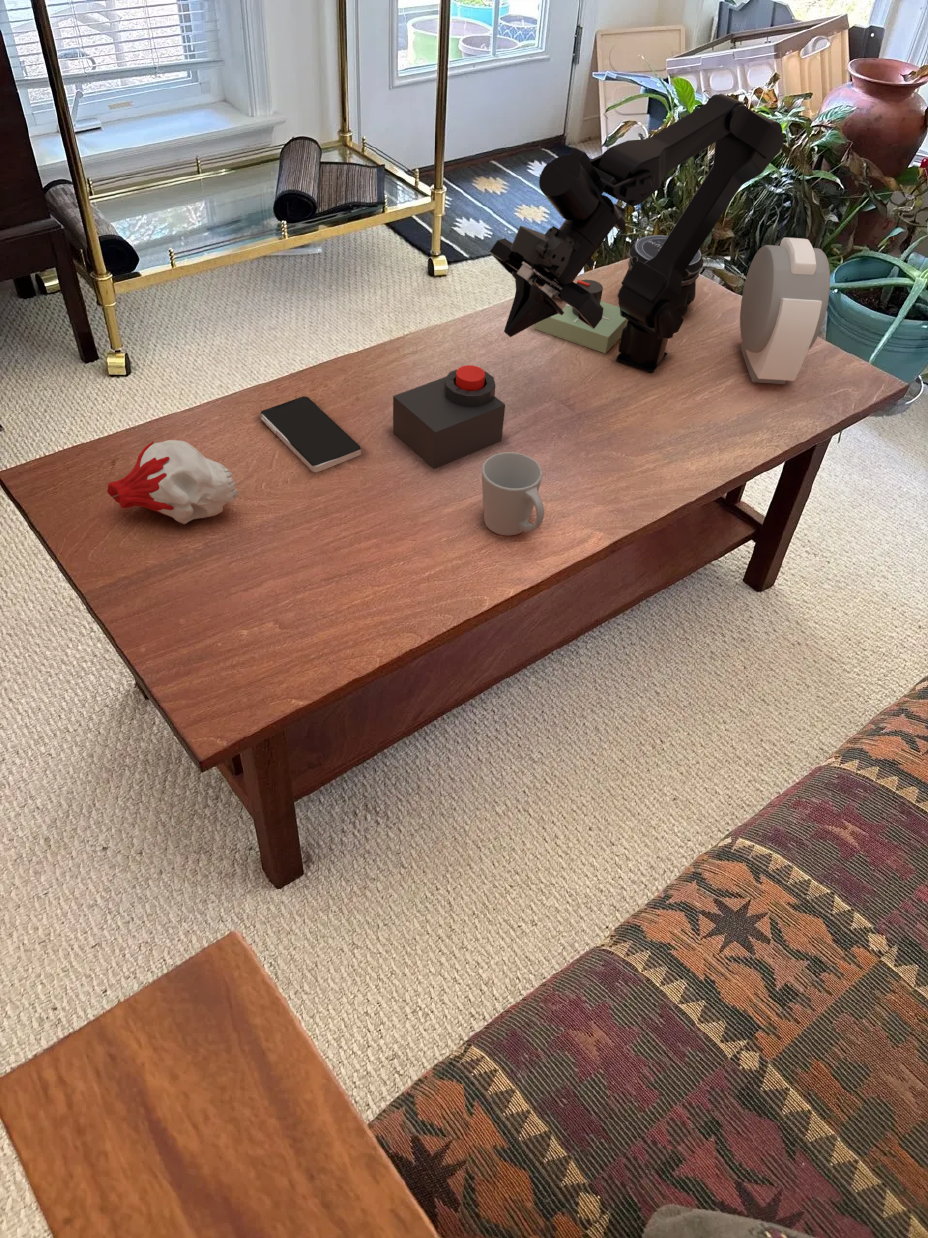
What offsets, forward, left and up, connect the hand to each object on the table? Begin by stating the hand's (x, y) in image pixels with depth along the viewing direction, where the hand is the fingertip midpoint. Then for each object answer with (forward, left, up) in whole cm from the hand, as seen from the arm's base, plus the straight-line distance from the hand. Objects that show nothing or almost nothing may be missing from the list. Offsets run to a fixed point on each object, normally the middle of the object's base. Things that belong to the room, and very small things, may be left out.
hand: (507, 334), depth 130 cm
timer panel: (+1, -30, -13) cm, 33 cm away
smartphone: (+20, +20, -14) cm, 31 cm away
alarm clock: (-28, -37, -14) cm, 49 cm away
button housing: (+4, +9, -13) cm, 16 cm away
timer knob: (+1, -30, -10) cm, 32 cm away
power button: (+2, +6, -6) cm, 8 cm away
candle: (+25, +42, -14) cm, 50 cm away
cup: (-13, +21, -14) cm, 28 cm away
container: (-6, -45, -14) cm, 48 cm away
